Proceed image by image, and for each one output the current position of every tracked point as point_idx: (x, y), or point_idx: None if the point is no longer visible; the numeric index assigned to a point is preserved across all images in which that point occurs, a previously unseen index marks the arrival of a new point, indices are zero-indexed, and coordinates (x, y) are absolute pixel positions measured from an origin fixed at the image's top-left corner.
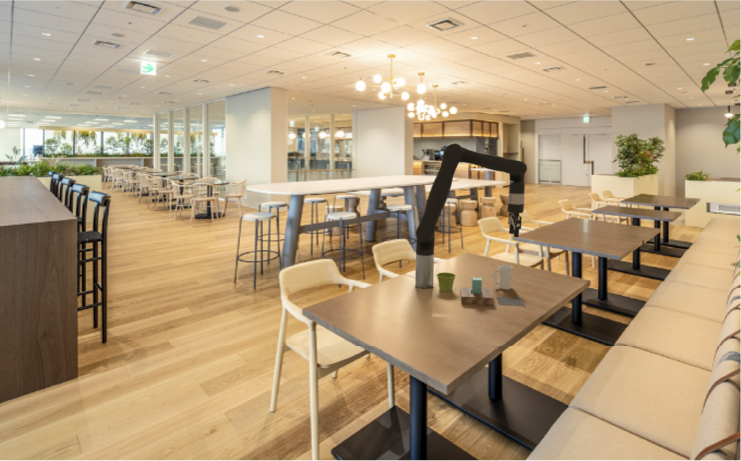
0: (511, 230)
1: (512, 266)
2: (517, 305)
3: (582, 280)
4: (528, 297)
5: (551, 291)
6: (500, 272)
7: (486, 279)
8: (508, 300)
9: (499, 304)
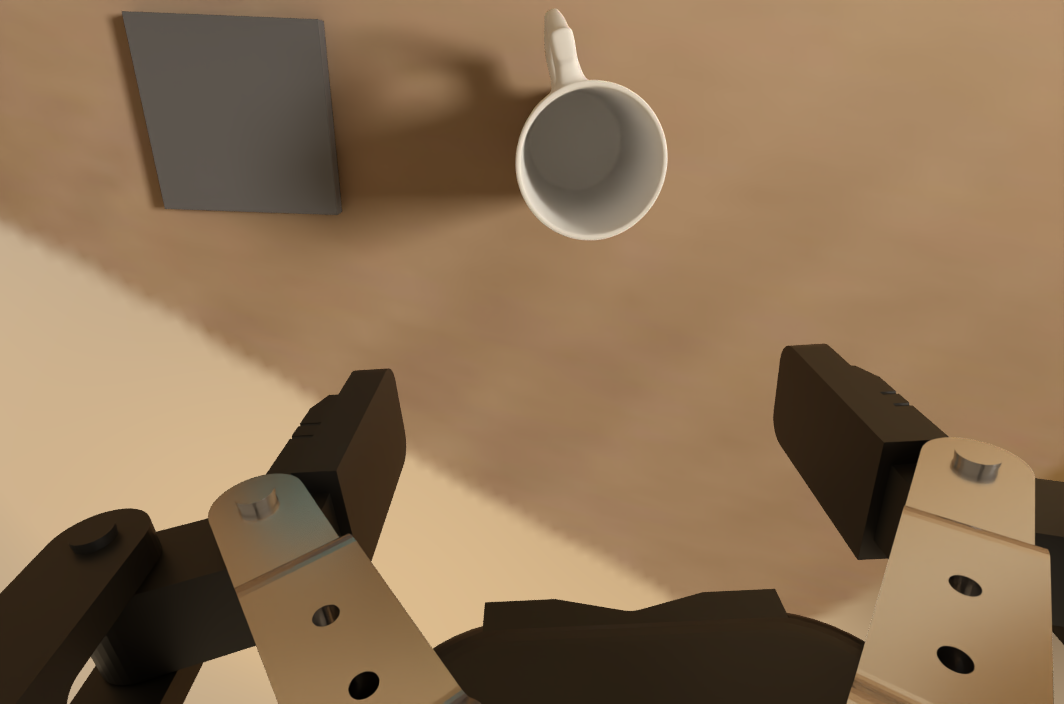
0: (812, 424)
1: (596, 239)
2: (159, 160)
3: None
4: (407, 280)
5: (555, 443)
6: (548, 95)
7: (855, 16)
8: (250, 112)
9: (128, 17)
